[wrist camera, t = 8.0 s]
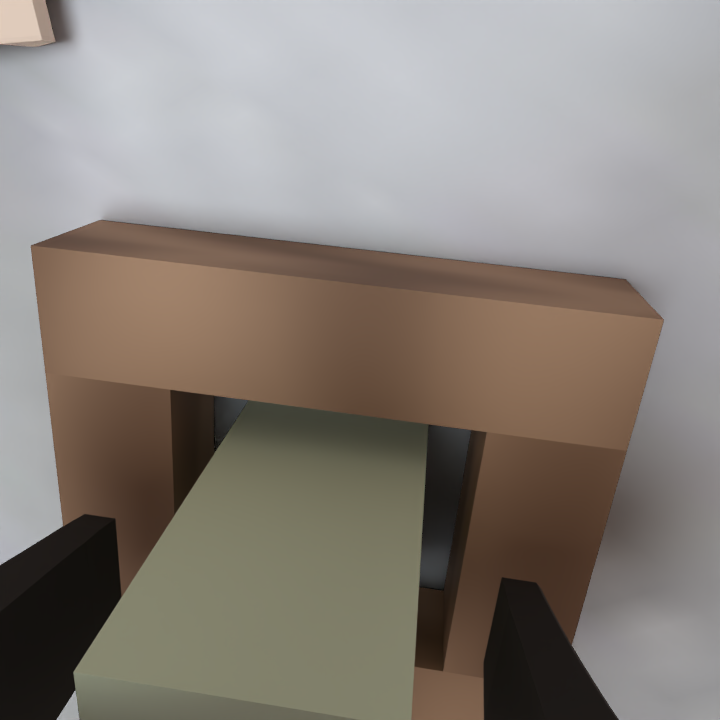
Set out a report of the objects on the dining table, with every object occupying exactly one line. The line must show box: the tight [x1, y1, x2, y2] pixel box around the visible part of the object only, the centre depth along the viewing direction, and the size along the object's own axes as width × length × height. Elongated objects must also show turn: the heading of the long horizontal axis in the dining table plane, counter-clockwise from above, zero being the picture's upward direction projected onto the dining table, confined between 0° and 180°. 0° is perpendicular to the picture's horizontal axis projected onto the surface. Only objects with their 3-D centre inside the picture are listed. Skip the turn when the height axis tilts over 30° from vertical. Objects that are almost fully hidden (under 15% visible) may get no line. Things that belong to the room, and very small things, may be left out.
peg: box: [73, 400, 428, 720], centre depth 12 cm, size 4×4×8 cm
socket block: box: [31, 220, 664, 720], centre depth 14 cm, size 11×11×2 cm
